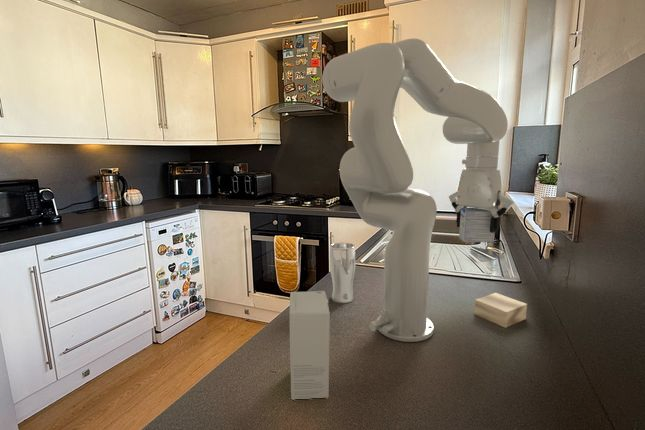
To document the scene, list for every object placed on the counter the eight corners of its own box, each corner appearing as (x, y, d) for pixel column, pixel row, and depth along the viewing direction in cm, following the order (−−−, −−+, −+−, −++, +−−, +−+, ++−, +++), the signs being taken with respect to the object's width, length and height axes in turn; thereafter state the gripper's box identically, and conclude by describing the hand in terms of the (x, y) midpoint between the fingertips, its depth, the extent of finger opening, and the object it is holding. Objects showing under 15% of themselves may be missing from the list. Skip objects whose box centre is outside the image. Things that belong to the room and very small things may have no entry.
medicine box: (488, 238, 96) (490, 207, 95) (494, 242, 92) (497, 210, 90) (458, 238, 97) (460, 207, 95) (463, 242, 93) (465, 209, 91)
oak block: (505, 328, 79) (506, 312, 78) (474, 315, 85) (475, 299, 85) (525, 319, 83) (527, 304, 82) (494, 307, 89) (495, 292, 89)
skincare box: (291, 370, 64) (289, 290, 62) (327, 368, 65) (326, 289, 62) (290, 402, 56) (287, 312, 53) (331, 400, 57) (330, 310, 54)
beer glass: (358, 295, 97) (359, 243, 94) (350, 306, 91) (350, 250, 88) (335, 292, 100) (335, 241, 97) (325, 301, 94) (325, 247, 91)
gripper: (443, 163, 95) (440, 225, 98) (509, 165, 82) (503, 237, 85) (458, 163, 100) (454, 222, 103) (523, 164, 86) (516, 232, 89)
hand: (476, 228), depth 94 cm, fingers closed on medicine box, 8 cm apart
